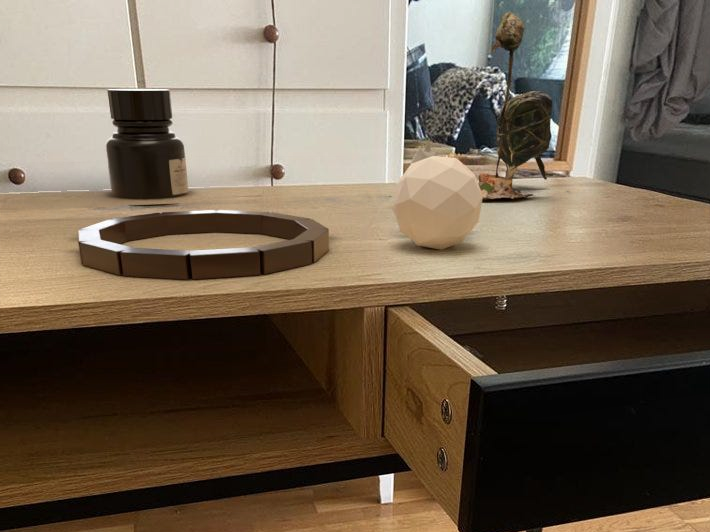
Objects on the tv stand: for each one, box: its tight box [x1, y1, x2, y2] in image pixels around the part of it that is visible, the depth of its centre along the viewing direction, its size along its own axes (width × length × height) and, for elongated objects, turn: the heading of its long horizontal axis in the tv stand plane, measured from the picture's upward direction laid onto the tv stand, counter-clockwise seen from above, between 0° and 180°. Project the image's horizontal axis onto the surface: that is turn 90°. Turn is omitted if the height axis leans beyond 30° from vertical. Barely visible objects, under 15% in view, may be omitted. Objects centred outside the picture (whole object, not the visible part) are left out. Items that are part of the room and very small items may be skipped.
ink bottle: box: [105, 88, 189, 207], centre depth 88 cm, size 10×9×12 cm
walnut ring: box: [77, 209, 330, 281], centre depth 66 cm, size 21×21×2 cm
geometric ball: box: [392, 155, 484, 251], centre depth 67 cm, size 8×8×8 cm
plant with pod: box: [478, 11, 555, 200], centre depth 92 cm, size 8×11×20 cm
